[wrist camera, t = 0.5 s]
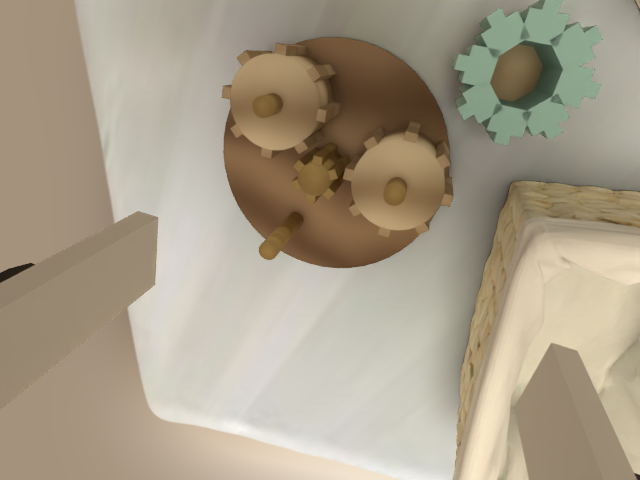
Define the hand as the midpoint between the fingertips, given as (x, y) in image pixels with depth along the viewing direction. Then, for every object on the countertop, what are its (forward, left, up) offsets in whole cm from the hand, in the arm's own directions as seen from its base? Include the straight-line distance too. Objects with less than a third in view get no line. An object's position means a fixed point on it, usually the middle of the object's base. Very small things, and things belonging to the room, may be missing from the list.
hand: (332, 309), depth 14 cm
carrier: (+2, -5, -23) cm, 24 cm away
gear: (-8, +6, -20) cm, 23 cm away
